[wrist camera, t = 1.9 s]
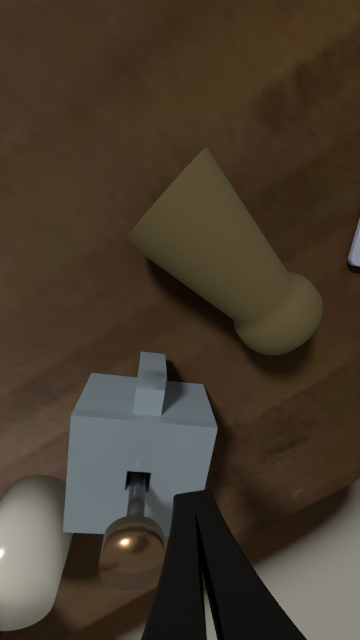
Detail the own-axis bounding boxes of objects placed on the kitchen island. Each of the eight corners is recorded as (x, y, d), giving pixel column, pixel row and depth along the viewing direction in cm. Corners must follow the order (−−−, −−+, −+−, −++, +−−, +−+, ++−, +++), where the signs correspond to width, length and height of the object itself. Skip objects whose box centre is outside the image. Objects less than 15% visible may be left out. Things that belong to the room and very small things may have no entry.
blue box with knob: (209, 354, 20) (226, 389, 15) (185, 474, 23) (193, 537, 18) (94, 340, 19) (73, 374, 14) (83, 467, 22) (62, 532, 17)
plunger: (164, 447, 18) (168, 543, 12) (158, 484, 18) (159, 590, 13) (118, 444, 17) (101, 540, 12) (114, 481, 18) (95, 590, 12)
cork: (214, 140, 15) (331, 280, 18) (146, 218, 19) (255, 325, 22) (192, 158, 11) (354, 342, 14) (107, 258, 14) (252, 386, 17)
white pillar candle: (82, 477, 22) (57, 559, 16) (77, 536, 24) (52, 631, 18) (1, 472, 22) (-55, 556, 16) (1, 533, 23) (-50, 631, 17)
